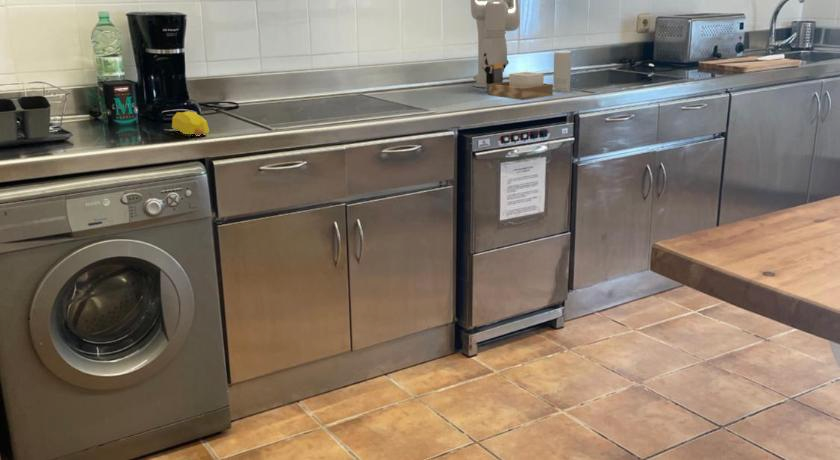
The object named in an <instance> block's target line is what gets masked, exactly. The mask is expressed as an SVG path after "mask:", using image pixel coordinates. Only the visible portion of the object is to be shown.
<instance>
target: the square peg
mask: <svg viewBox="0 0 840 460" xmlns="http://www.w3.org/2000/svg"><path fill="white" fill-rule="evenodd" d="M489 69H490V67H489ZM492 74H493V83H501V82H502V63H495V64H494V65H493V70H492ZM486 93H487V94H489V84H487V88H486Z"/></svg>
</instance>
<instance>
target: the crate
mask: <svg viewBox="0 0 840 460" xmlns="http://www.w3.org/2000/svg"><path fill="white" fill-rule="evenodd" d="M553 93H554V83H552V84H551V83H544V82H543V85H541V86H534V87H527V88H519V87H511V86H509V81H503V82H501V83H493V84H489V93H488V95H489V96H492V97H501V98H509V99H515V100H521V101H523V100H525V101H526V100H530V99H531V100H532V99H537V98H543V97H550V96H551V97H552V96H553Z"/></svg>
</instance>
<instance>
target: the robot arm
mask: <svg viewBox="0 0 840 460" xmlns="http://www.w3.org/2000/svg"><path fill="white" fill-rule="evenodd" d="M470 12H471V17H472V18H473V19H474V20H476V22H475V23H476V28H477V43H478V44H477V48H478V49H477V55H478V56H477V74H475V76H473V77H472V79H473V80H475V81H476V82H474V85H473V86H474V87H476V88H484V89H485V88H486V89H487V84H493V74H492V70H493V65H494V64H495V63H502V82H504V81H503V80H504V79H503V74H504V72H505V69H506V68H507V66H508V64H509V63H510V62H509V60H508V48H507V47H508V46H507V40H506V37H505V36H506V33H507V32H513V31H516V30H518V28H519V27H520V22H521V19H520V18H521V16H520V6H519V0H470ZM489 67H490V69H489Z"/></svg>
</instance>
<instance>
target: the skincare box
mask: <svg viewBox="0 0 840 460" xmlns="http://www.w3.org/2000/svg"><path fill="white" fill-rule="evenodd" d="M553 56H554V57H553V93H570V92H571V77H572V74H571V73H572V71H571V70H572V51H571V50H558V51H557V50H556V51H554V55H553Z"/></svg>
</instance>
